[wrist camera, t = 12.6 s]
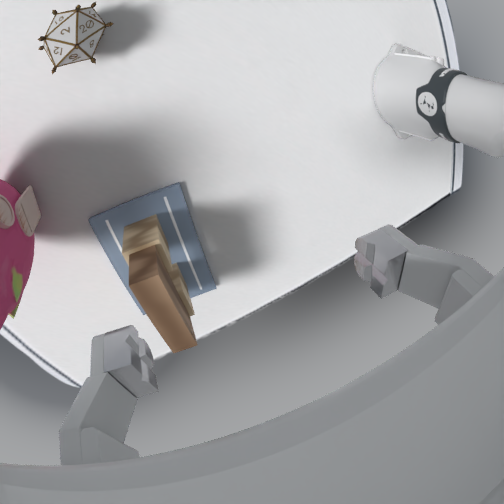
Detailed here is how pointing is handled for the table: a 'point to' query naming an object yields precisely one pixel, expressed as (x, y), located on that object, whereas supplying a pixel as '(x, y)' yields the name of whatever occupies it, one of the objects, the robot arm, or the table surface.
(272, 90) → the table surface
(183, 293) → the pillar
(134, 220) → the blueprint board
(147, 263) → the walnut lintel
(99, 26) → the game die
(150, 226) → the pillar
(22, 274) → the pink dragon fruit
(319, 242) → the table surface
